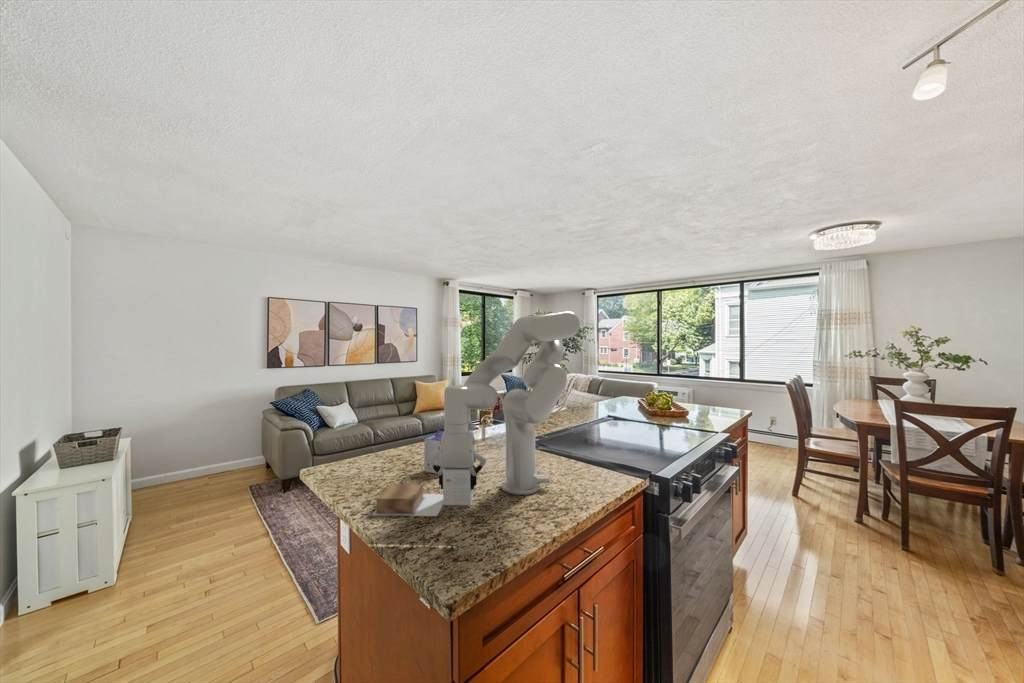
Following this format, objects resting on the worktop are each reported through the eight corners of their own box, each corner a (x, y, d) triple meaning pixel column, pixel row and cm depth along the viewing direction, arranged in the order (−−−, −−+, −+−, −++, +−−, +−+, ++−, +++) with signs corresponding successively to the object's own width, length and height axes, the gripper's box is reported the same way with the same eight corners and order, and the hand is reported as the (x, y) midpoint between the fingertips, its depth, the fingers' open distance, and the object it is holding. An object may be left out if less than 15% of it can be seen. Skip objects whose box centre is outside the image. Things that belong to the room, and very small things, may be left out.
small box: (473, 498, 112) (473, 463, 112) (470, 506, 106) (470, 470, 106) (446, 498, 112) (446, 463, 112) (442, 506, 106) (442, 469, 106)
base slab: (423, 498, 111) (423, 484, 111) (412, 513, 101) (412, 498, 101) (390, 497, 112) (390, 484, 112) (376, 513, 102) (376, 498, 102)
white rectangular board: (448, 495, 114) (448, 494, 114) (436, 517, 100) (436, 515, 100) (390, 494, 115) (390, 493, 115) (371, 516, 101) (371, 514, 101)
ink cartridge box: (455, 470, 136) (454, 431, 136) (446, 475, 131) (446, 434, 131) (432, 467, 140) (432, 428, 140) (423, 471, 135) (423, 432, 135)
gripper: (488, 425, 112) (488, 483, 112) (431, 424, 113) (431, 482, 113) (485, 431, 104) (485, 493, 104) (424, 431, 105) (424, 492, 105)
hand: (457, 487), depth 109 cm, fingers closed on small box, 8 cm apart
